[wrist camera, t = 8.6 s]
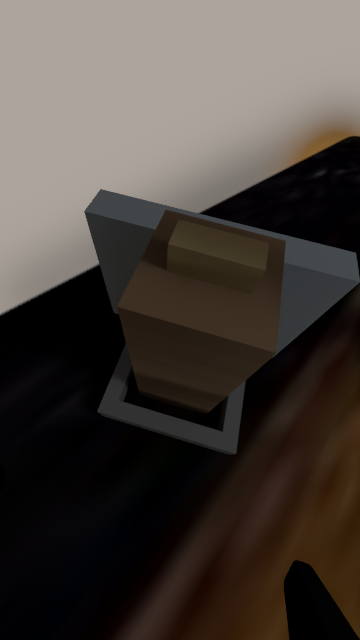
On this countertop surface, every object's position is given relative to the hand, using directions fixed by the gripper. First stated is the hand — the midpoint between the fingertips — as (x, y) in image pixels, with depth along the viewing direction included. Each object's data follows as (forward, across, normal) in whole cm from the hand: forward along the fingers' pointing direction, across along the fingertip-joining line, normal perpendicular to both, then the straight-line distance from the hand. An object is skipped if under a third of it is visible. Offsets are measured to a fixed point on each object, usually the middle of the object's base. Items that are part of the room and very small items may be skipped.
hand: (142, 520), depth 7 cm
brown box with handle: (+12, 0, +1) cm, 12 cm away
